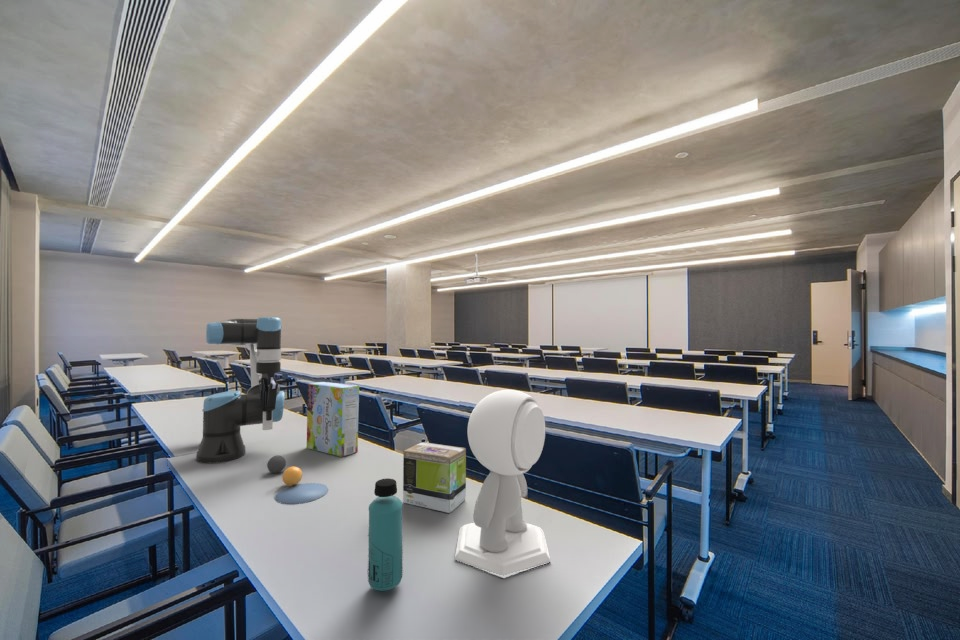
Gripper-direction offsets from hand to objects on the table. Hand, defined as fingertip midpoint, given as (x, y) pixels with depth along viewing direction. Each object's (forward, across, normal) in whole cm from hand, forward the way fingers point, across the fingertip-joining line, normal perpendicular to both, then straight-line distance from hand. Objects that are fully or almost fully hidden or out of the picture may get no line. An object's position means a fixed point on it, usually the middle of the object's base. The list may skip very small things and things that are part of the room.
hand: (267, 429), depth 138 cm
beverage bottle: (+13, +85, -4) cm, 86 cm away
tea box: (+13, +62, +25) cm, 68 cm away
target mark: (+13, +32, 0) cm, 34 cm away
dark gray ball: (+10, +10, 0) cm, 14 cm away
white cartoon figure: (+13, +90, +22) cm, 94 cm away
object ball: (+10, +24, 0) cm, 26 cm away
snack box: (+13, -1, +24) cm, 27 cm away
